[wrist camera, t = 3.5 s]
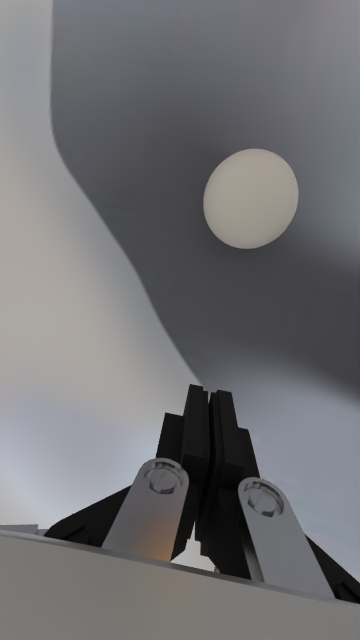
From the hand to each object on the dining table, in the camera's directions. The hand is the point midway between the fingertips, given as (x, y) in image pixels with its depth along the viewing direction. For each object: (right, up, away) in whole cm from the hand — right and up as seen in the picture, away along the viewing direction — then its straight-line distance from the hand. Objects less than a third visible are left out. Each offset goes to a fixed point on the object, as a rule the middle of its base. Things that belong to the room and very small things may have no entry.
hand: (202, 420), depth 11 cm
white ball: (+3, +11, +6) cm, 13 cm away
